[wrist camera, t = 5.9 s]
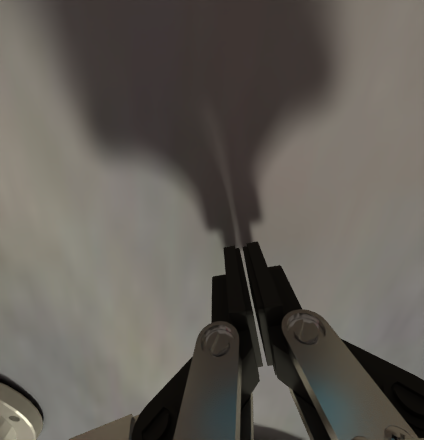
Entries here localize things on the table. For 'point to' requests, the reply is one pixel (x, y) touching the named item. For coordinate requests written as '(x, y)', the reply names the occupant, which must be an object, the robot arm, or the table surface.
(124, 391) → the table surface
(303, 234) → the table surface
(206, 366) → the robot arm
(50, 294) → the table surface
